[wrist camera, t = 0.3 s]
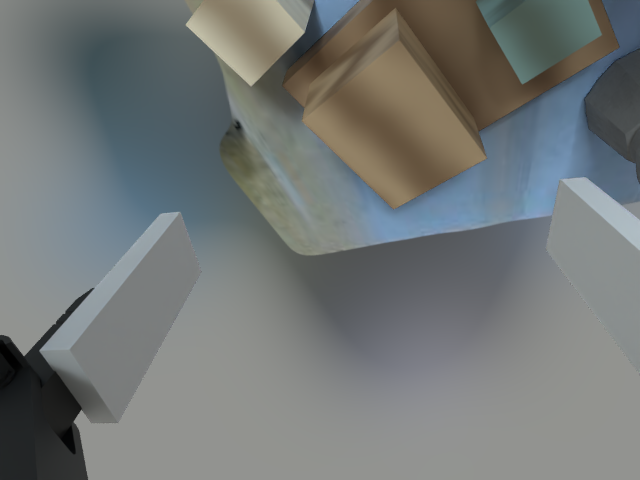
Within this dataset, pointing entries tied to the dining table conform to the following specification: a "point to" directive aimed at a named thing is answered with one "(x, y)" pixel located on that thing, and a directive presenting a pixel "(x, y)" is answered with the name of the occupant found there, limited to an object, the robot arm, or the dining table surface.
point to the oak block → (250, 31)
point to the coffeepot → (618, 107)
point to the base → (453, 53)
